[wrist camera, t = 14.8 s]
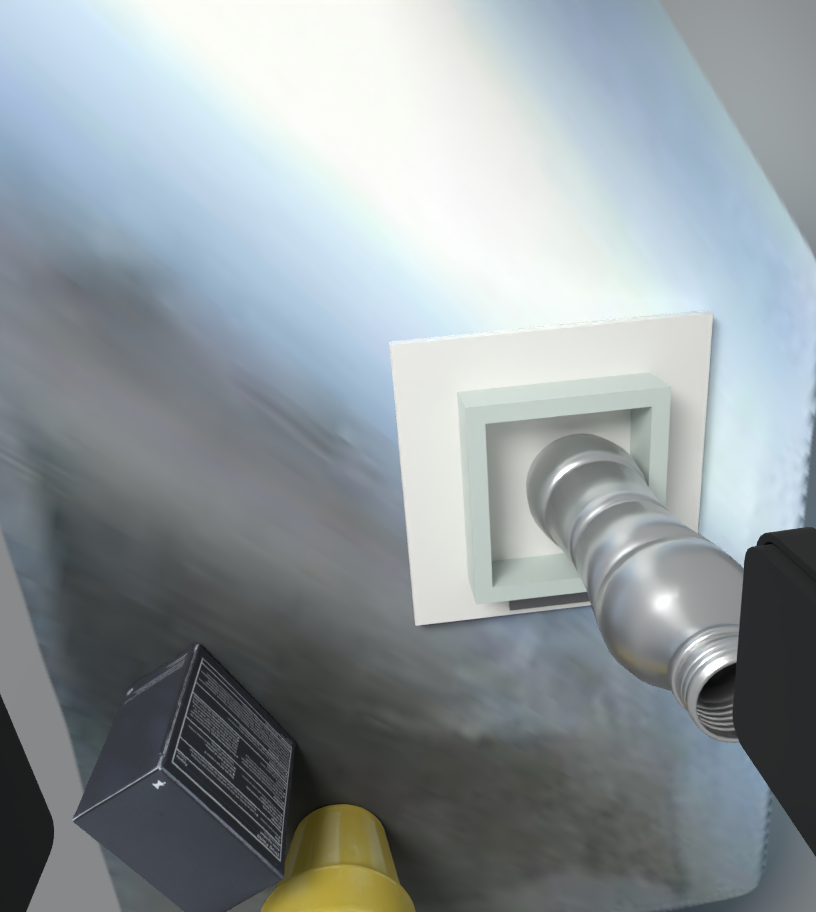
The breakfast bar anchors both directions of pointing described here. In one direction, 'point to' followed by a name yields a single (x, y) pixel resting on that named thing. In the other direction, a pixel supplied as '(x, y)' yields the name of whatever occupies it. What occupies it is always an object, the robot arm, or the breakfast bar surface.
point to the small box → (193, 786)
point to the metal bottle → (644, 575)
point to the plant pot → (339, 866)
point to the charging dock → (535, 447)
